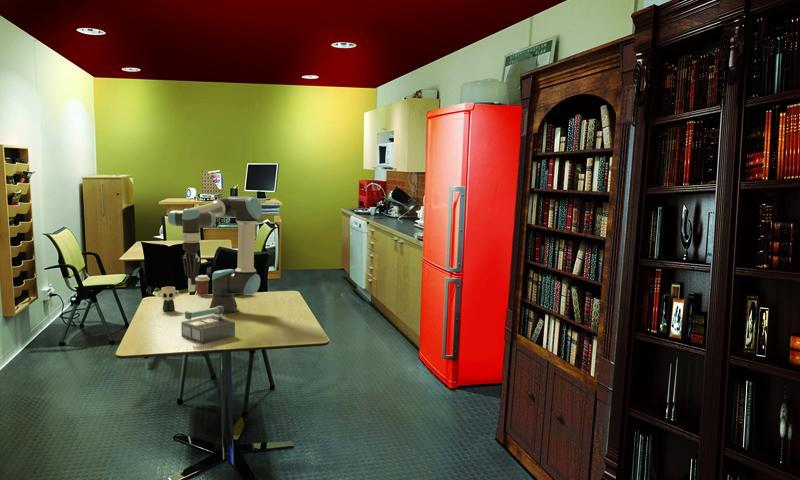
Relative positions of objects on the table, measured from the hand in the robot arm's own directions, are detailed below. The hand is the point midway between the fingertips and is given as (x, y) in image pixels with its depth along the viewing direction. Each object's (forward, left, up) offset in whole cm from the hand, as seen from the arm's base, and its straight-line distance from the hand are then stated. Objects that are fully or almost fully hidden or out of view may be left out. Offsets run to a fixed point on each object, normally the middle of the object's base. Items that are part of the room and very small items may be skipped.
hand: (191, 291), depth 265 cm
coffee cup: (-76, +53, -22) cm, 95 cm away
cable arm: (+7, +3, -11) cm, 13 cm away
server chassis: (+7, +4, -21) cm, 23 cm away
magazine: (-61, +68, -22) cm, 94 cm away
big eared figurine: (-52, +17, -22) cm, 59 cm away
